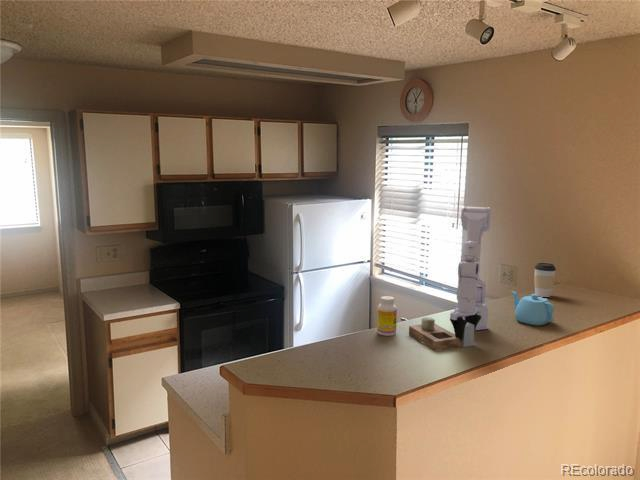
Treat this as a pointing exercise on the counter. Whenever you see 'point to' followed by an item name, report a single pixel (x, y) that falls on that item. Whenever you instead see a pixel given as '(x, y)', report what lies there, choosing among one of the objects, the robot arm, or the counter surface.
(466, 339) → the peg
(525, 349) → the counter surface
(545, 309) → the teapot
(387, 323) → the supplement bottle
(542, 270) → the coffee cup
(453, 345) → the base
